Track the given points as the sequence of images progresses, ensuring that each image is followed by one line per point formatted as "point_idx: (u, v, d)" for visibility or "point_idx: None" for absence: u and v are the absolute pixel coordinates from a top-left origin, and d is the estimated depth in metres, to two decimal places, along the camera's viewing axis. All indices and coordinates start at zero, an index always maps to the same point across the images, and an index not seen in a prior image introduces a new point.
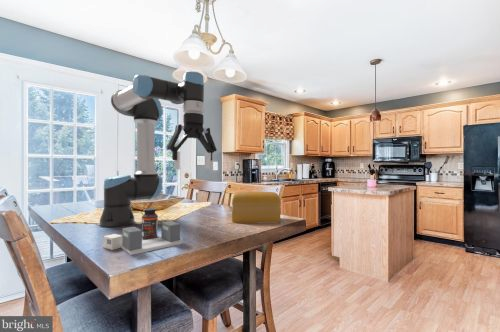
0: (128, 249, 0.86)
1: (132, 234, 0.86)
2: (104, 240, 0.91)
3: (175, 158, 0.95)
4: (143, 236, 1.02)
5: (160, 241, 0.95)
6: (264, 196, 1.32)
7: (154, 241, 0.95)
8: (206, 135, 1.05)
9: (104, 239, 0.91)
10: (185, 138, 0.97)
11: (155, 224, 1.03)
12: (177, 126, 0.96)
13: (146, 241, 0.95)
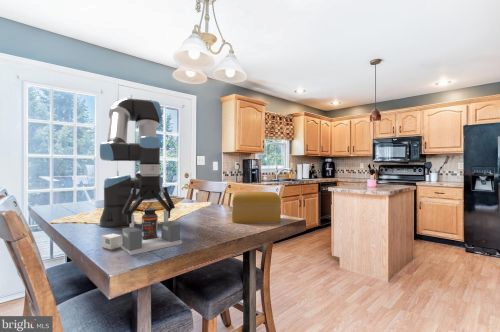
0: (128, 249, 0.86)
1: (132, 234, 0.86)
2: (102, 239, 0.91)
3: (129, 222, 0.98)
4: (143, 236, 1.02)
5: (160, 241, 0.95)
6: (265, 196, 1.32)
7: (154, 241, 0.95)
8: (164, 194, 1.08)
9: (103, 239, 0.91)
10: (140, 201, 1.00)
11: (155, 224, 1.03)
12: (132, 190, 0.99)
13: (146, 241, 0.95)
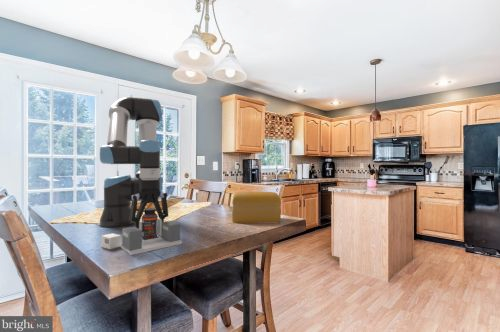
0: (128, 249, 0.86)
1: (132, 234, 0.86)
2: (102, 239, 0.92)
3: None
4: (143, 236, 1.02)
5: (160, 241, 0.95)
6: (265, 196, 1.32)
7: (154, 241, 0.95)
8: (162, 199, 1.08)
9: (102, 239, 0.92)
10: (143, 206, 1.01)
11: (155, 224, 1.03)
12: (132, 197, 0.99)
13: (146, 241, 0.95)
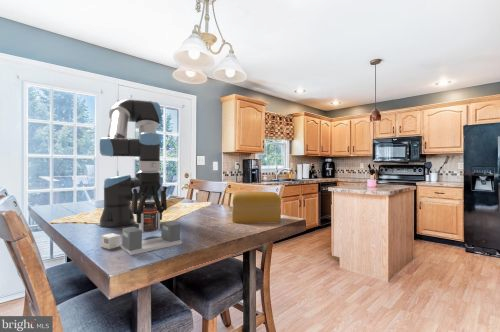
0: (128, 249, 0.86)
1: (132, 234, 0.86)
2: (101, 239, 0.92)
3: (139, 221, 1.01)
4: (143, 229, 1.02)
5: (160, 241, 0.95)
6: (265, 196, 1.32)
7: (154, 241, 0.95)
8: (161, 192, 1.08)
9: (101, 239, 0.92)
10: (144, 199, 1.02)
11: (155, 217, 1.04)
12: (132, 190, 0.99)
13: (146, 241, 0.95)
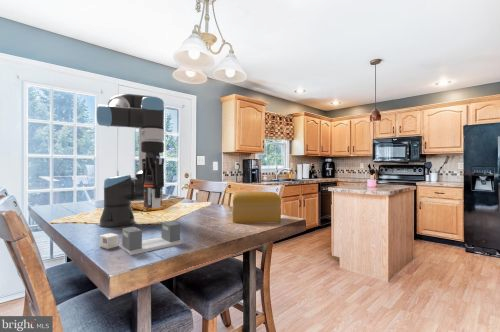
0: (128, 249, 0.86)
1: (132, 234, 0.86)
2: (100, 239, 0.92)
3: None
4: None
5: (160, 241, 0.95)
6: (265, 196, 1.32)
7: (154, 241, 0.95)
8: None
9: (100, 238, 0.92)
10: (146, 171, 0.94)
11: (146, 192, 0.91)
12: None
13: (146, 241, 0.95)
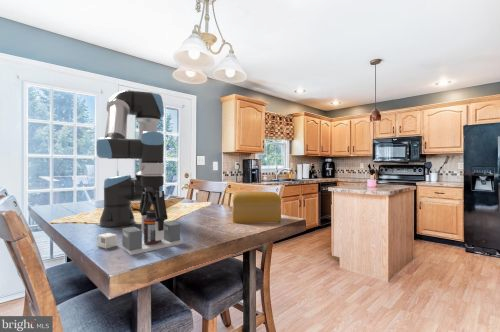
0: (128, 249, 0.86)
1: (132, 234, 0.86)
2: (98, 238, 0.92)
3: None
4: None
5: None
6: (265, 196, 1.32)
7: None
8: None
9: (98, 238, 0.92)
10: (144, 202, 0.95)
11: (146, 229, 0.91)
12: None
13: None
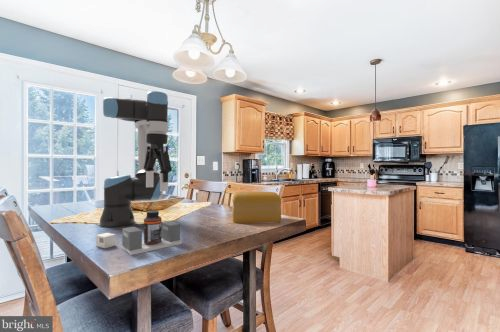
0: (128, 249, 0.86)
1: (132, 234, 0.86)
2: (96, 238, 0.93)
3: None
4: None
5: None
6: (265, 196, 1.32)
7: None
8: None
9: (97, 238, 0.93)
10: (149, 159, 1.02)
11: (146, 229, 0.91)
12: None
13: None
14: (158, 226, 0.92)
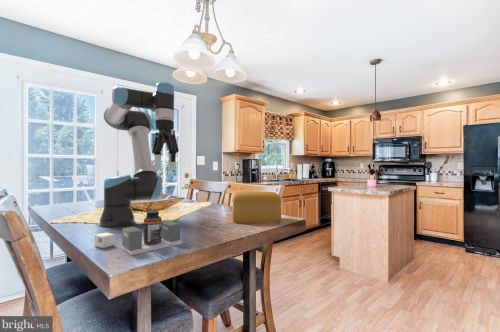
0: (128, 249, 0.86)
1: (132, 234, 0.86)
2: (95, 238, 0.93)
3: (155, 160, 1.17)
4: None
5: None
6: (265, 196, 1.32)
7: None
8: None
9: (96, 238, 0.93)
10: (157, 143, 1.14)
11: (146, 229, 0.91)
12: None
13: None
14: (158, 226, 0.92)
